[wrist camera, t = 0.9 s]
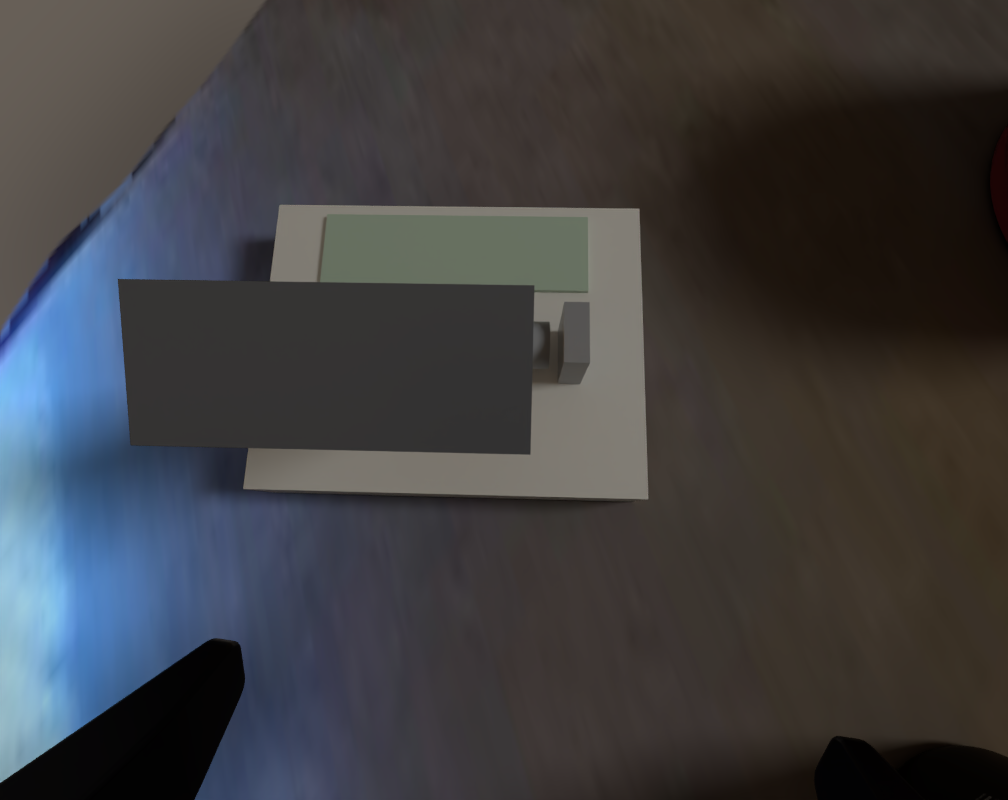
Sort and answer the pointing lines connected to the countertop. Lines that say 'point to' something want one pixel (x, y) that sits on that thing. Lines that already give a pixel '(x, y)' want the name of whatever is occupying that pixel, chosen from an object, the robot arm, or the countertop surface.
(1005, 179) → the canister
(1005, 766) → the supplement bottle
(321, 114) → the countertop surface
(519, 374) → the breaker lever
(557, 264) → the base
